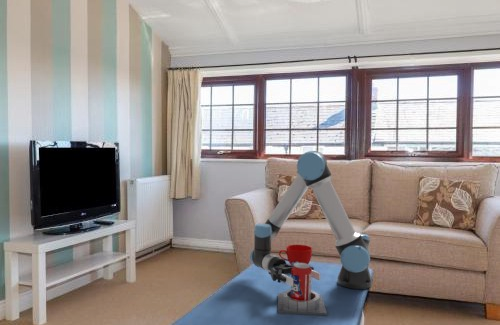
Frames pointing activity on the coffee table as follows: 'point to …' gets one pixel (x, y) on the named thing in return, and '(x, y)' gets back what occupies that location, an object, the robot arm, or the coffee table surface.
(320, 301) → the housing
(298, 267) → the soda can
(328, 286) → the coffee table surface
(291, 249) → the ceramic cup
